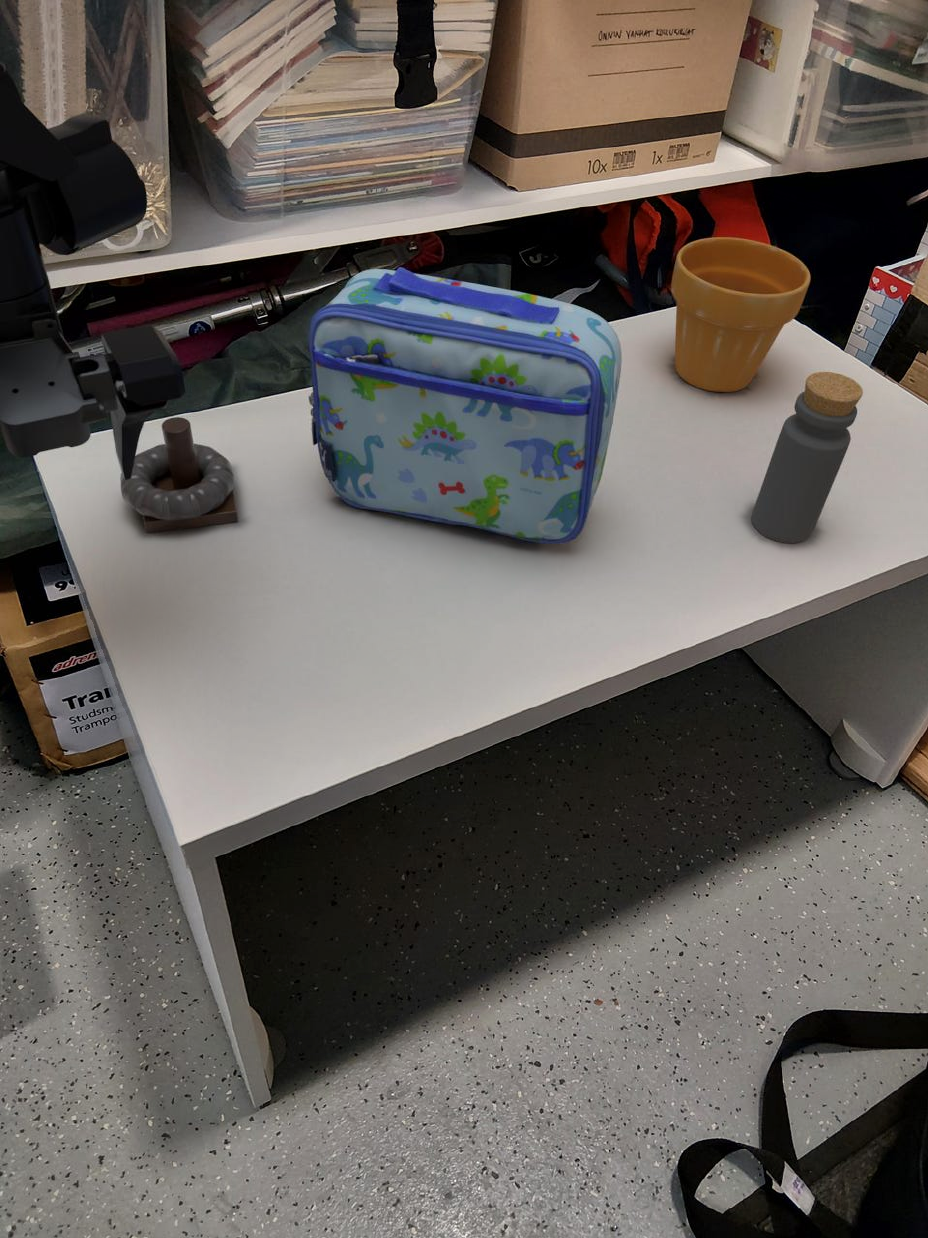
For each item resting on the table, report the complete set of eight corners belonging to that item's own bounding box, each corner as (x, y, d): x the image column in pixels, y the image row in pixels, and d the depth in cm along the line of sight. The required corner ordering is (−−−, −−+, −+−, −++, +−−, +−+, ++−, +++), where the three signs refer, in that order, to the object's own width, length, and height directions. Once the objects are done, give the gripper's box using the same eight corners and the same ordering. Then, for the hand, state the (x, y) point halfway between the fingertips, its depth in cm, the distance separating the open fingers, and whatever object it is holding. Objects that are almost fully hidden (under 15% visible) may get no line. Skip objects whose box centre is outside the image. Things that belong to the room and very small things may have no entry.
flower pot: (791, 367, 111) (828, 260, 102) (750, 420, 102) (786, 308, 93) (680, 331, 116) (706, 225, 106) (632, 378, 107) (656, 268, 98)
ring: (125, 532, 81) (119, 509, 79) (121, 466, 87) (116, 443, 86) (240, 517, 83) (237, 494, 81) (228, 454, 90) (225, 431, 88)
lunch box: (303, 503, 87) (286, 288, 72) (348, 442, 94) (341, 236, 80) (575, 572, 83) (617, 358, 68) (600, 502, 90) (642, 295, 75)
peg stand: (146, 532, 83) (128, 456, 77) (143, 479, 88) (126, 403, 82) (238, 521, 85) (227, 446, 79) (229, 470, 90) (219, 395, 84)
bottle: (785, 499, 92) (837, 362, 82) (825, 535, 89) (885, 396, 78) (738, 513, 90) (785, 374, 80) (777, 550, 86) (832, 410, 76)
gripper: (-173, 379, 47) (-68, 602, 58) (192, 314, 54) (224, 524, 65) (-186, 284, 54) (-89, 500, 65) (141, 237, 61) (178, 439, 72)
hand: (60, 492), depth 66 cm, fingers open, 9 cm apart
